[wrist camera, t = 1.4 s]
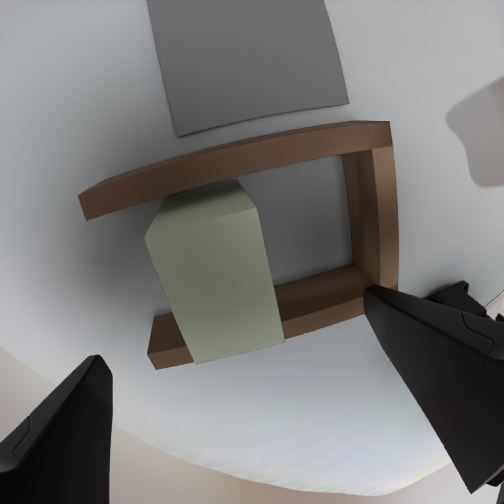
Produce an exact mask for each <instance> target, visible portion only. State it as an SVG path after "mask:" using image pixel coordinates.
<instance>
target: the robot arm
mask: <svg viewBox="0 0 504 504" xmlns="http://www.w3.org/2000/svg"><path fill="white" fill-rule="evenodd" d="M468 288H469V284H468V283H467V282H466V281H463V282H460V283H458V284H456V285H454V286H452V287H450V288H448V289H445V290H443V291H441V292H439V293H436V294H434V295H432V296H430V297H427V298H425V299H422V298H419V297H415V296H412V295H409V294H406V293H403V292H400V291H396V290H393V289H390V288H387V287H384V286H380V285H377V284H373V285H370V286H367V287H365V288H364V290H363V308H364V313H365V315H366V317H367V319H368V321H369V323H370V325H371V327H372V329H373V331H374V333H375V334H376V336H377V338H378V340H379V342H380V344H381V346H382V348H383V350H384V351H385V353H386V354H387V356H388V358H389V359H390V361H391V362H392V364H393V365H394V367H395V368H396V370H397V371H398V373H399V374H400V376H401V377H402V379H403V380H404V382H405V384H406V385H407V387H408V388H409V390H410V391H411V393H412V395H413V396H414V398H415V399H416V401H417V403H418V404H419V406H420V407H421V409H422V411H423V412H424V414H425V415H426V417H427V419H428V420H429V422H430V424H431V425H432V427H433V429H434V430H435V432H436V434H437V435H438V437H439V439H440V440H441V442H442V444H443V445H444V448H445V449H446V451H447V453H448V455H449V456H450V458H451V460H452V462H453V463H454V465H455V467H456V469H457V470H458V472H459V474H460V476H461V478H462V479H463V481H464V483H465V485H466V487H467V489H468V490H469V492H470V493H471V494H472V493H473V492H475V491H476V490H478V489H479V488H480V487H482V486H483V485H484V484H488V485H491V486H494V487H497V486H498V485H500V484H501V483H502V482H503V481H504V316H503V315H502V314H500V313H498V315H497V316H496V318H495V320H493V319H492V318H491V317H490V316H489V315H487V310H486V309H485V308H484V307H483V306H482V305H481V304H479V303H478V302H477V301H476V300H474V299H473V298H472V297H471V296H469V295H468V294H467V293H468ZM112 417H113V376H112V373H111V370H110V369H109V367H108V366H107V364H106V363H105V361H104V360H103V358H102V357H101V356H100V355H91V356H88V357H87V358H86V359H85V360H84V361H83V362H82V363H81V364H80V365H79V366H78V367H77V368H76V369H75V370H74V371H73V372H72V373H71V374H70V375H69V376H68V377H67V378H66V379H65V380H64V381H63V382H62V383H61V384H59V385H58V386H57V387H56V388H55V389H54V390H53V391H52V392H51V393H50V394H49V395H48V397H46V398H45V399H44V400H43V401H42V402H41V403H40V405H39V406H38V407H36V408H35V409H34V410H33V412H32V413H31V414H30V416H28V417H27V418H26V419H25V420H24V421H23V422H22V423H21V424H20V425H19V426H18V427H17V428H16V429H15V430H14V431H12V432H11V433H10V434H9V435H8V436H7V437H6V438H5V439H4V440H3V441H2V442H0V504H109V472H110V447H111V431H112ZM496 504H504V482H503V483H502V484H501V488H500V492H499V495H498V499H497V503H496Z"/></svg>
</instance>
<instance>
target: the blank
mask: <svg viewBox="0 0 504 504" xmlns="http://www.w3.org/2000/svg"><path fill="white" fill-rule="evenodd" d="M144 241H145V243H146V246H147V249H148V252H149V254H150V257H151V260H152V263H153V265H154V268H155V270H156V273H157V276H158V278H159V281H160V283H161V286H162V288H163V291H164V293H165V296H166V298H167V301H168V303H169V306H170V308H171V310H172V313H173V315H174V318H175V320H176V322H177V325H178V327H179V329H180V331H181V334H182V336H183V338H184V340H185V343H186V345H187V347H188V349H189V351H190V354H191V356H192V358H193V360H194V362H195V364H198V363H203V362H207V361H212V360H216V359H221V358H225V357H229V356H233V355H237V354H241V353H245V352H249V351H253V350H257V349H260V348H264V347H268V346H271V345H275V344H279V343H282V342H285V339H284V334H283V329H282V325H281V320H280V315H279V310H278V305H277V300H276V296H275V291H274V286H273V281H272V277H271V272H270V267H269V262H268V258H267V253H266V248H265V244H264V239H263V235H262V230H261V225H260V221H259V216H258V212H257V207H256V206H255V204H254V203H253V202H252V200H251V199H250V197H249V196H248V194H247V193H246V191H245V190H244V188H243V187H242V186H241V184H240V183H239V181H238V180H235V181H231V182H227V183H223V184H219V185H215V186H211V187H207V188H204V189H200V190H196V191H193V192H189V193H185V194H182V195H178V196H175V197H171V198H168V199H164V201H163V202H162V204H161V206H160V208H159V210H158V212H157V213H156V215H155V217H154V219H153V221H152V223H151V225H150V227H149V229H148V231H147V232H146V234H145V236H144Z"/></svg>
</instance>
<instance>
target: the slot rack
mask: <svg viewBox="0 0 504 504" xmlns="http://www.w3.org/2000/svg"><path fill="white" fill-rule="evenodd" d="M340 154H342V159H343V166H344V173H345V180H346V188H347V196H348V205H349V215H350V225H351V236H352V249H353V263H354V264H352V265H349V266H346V267H343V268H339V269H336V270H332V271H329V272H326V273H322V274H319V275H315V276H312V277H308V278H305V279H301V280H298V281H294V282H291V283H287V284H284V285H280V286H276V287H274V291H275V296H276V300H277V305H278V310H279V315H280V320H281V325H282V329H283V334H284V339H288V338H291V337H295V336H298V335H301V334H305V333H308V332H311V331H314V330H317V329H321V328H324V327H327V326H330V325H333V324H336V323H339V322H342V321H345V320H348V319H351V318H354V317H357V316H359V315H362V314H365V313H364V308H363V290H364V288H365V287H367V286H370V285H373V284H377V285H380V286H384V287H387V288H390V289H393V290H396V291H398V268H399V229H398V202H397V186H396V173H395V162H394V153H393V144H392V136H391V129H390V122H389V121H349V122H341V123H333V124H326V125H320V126H313V127H307V128H301V129H295V130H290V131H284V132H279V133H274V134H269V135H264V136H259V137H254V138H249V139H245V140H240V141H236V142H232V143H228V144H223V145H219V146H215V147H211V148H207V149H203V150H200V151H196V152H192V153H189V154H185V155H181V156H178V157H174V158H171V159H168V160H164V161H161V162H158V163H154V164H151V165H148V166H145V167H142V168H139V169H136V170H133V171H130V172H127V173H124V174H121V175H118V176H115V177H112V178H110V179H107V180H104V181H102V182H100V183H98V184H96V185H94V186H93V187H91V188H89V189H87V190H86V191H84V192H82V193H81V194H79V195H78V198H79V201H80V204H81V207H82V210H83V212H84V215H85V218H86V221H88V220H90V219H93V218H96V217H99V216H102V215H105V214H108V213H111V212H114V211H117V210H120V209H123V208H126V207H129V206H132V205H135V204H139V203H142V202H145V201H148V200H152V199H155V198H158V197H162V196H165V195H168V194H172V193H175V192H179V191H182V190H186V189H190V188H193V187H197V186H200V185H204V184H208V183H212V182H216V181H219V180H223V179H227V178H231V177H235V176H239V175H244V174H248V173H252V172H256V171H261V170H265V169H270V168H274V167H279V166H283V165H288V164H293V163H298V162H302V161H307V160H313V159H318V158H323V157H328V156H334V155H340ZM147 355H148V357H149V359H150V360H151V362H152V364H153V366H154V368H155V369H156V370H157V369H162V368H168V367H173V366H178V365H183V364H188V363H192V362H194V360H193V358H192V356H191V354H190V351H189V349H188V347H187V345H186V343H185V340H184V338H183V336H182V334H181V331H180V329H179V327H178V325H177V322H176V320H175V318H174V315H173V313H171V314H167V315H163V316H159V317H154V320H153V325H152V331H151V336H150V341H149V347H148V352H147Z"/></svg>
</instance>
